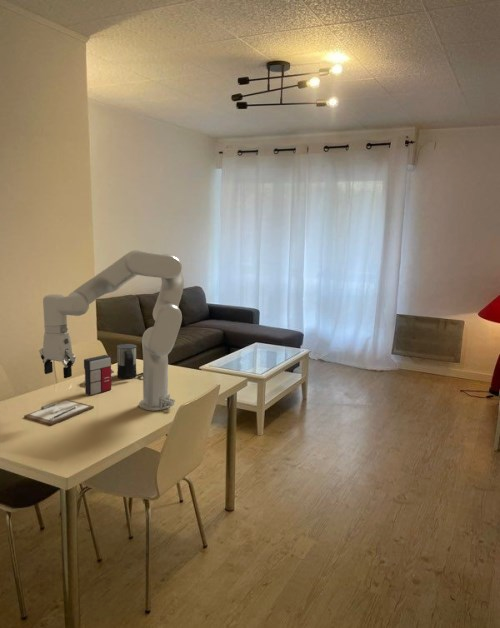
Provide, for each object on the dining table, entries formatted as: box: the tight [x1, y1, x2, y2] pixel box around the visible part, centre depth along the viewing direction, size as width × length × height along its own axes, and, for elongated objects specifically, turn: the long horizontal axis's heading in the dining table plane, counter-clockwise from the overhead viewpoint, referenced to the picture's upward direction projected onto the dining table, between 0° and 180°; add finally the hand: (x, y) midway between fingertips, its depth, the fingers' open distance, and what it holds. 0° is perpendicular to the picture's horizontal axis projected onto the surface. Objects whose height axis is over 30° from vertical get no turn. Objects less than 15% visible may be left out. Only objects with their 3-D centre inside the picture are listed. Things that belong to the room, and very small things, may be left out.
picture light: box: [50, 406, 77, 419], centre depth 177 cm, size 14×4×2 cm, turn 159°
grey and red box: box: [83, 354, 112, 396], centre depth 202 cm, size 11×4×15 cm, turn 143°
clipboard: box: [23, 399, 95, 426], centre depth 179 cm, size 14×20×2 cm
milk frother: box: [116, 343, 143, 380], centre depth 226 cm, size 14×16×15 cm
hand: (58, 375), depth 174 cm, fingers open, 9 cm apart
